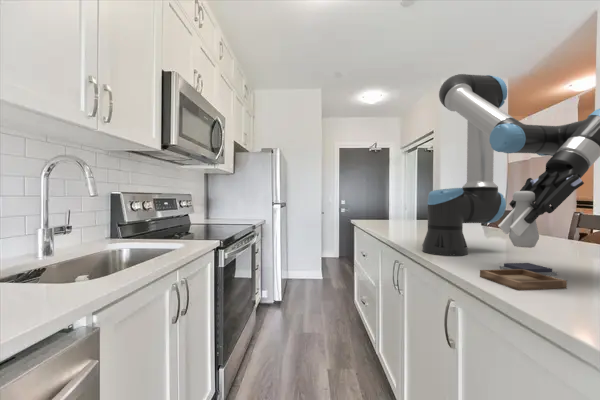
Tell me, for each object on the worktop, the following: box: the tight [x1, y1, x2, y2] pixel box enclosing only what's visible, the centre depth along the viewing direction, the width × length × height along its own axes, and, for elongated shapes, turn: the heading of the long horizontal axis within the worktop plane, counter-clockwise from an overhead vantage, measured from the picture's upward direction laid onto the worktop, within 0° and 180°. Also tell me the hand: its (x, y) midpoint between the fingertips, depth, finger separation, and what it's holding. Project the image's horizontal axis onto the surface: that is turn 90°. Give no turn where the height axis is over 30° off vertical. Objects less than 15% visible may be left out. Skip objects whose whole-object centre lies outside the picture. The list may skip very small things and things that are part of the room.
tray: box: [479, 268, 568, 291], centre depth 77 cm, size 12×12×2 cm
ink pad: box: [499, 262, 558, 276], centre depth 88 cm, size 9×9×2 cm
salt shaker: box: [508, 190, 540, 249], centre depth 76 cm, size 6×6×13 cm
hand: (508, 230), depth 76 cm, fingers closed on salt shaker, 3 cm apart
